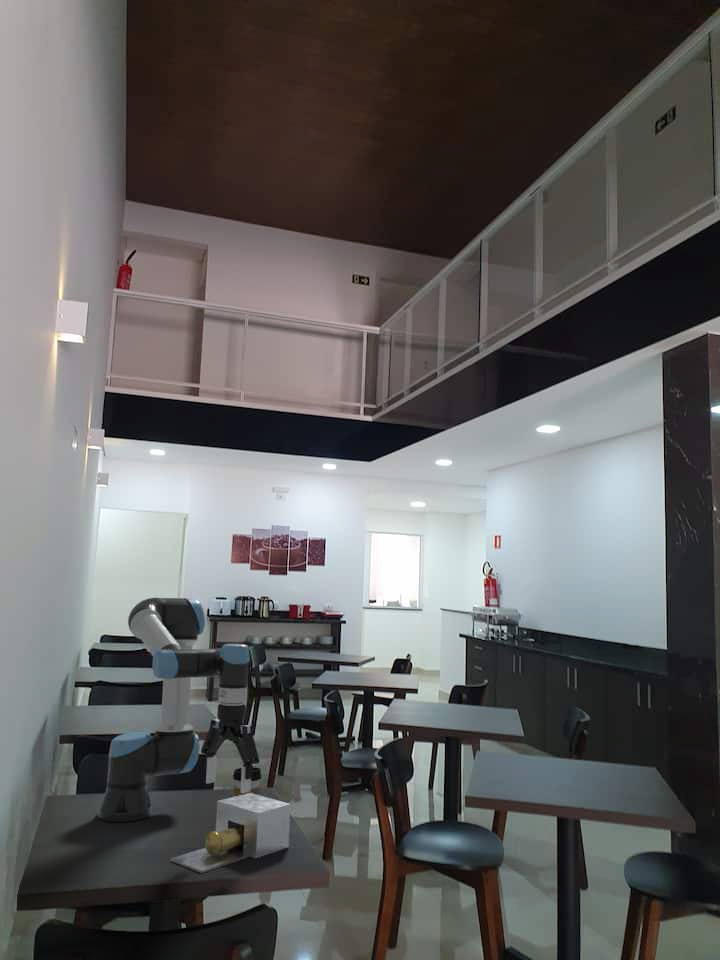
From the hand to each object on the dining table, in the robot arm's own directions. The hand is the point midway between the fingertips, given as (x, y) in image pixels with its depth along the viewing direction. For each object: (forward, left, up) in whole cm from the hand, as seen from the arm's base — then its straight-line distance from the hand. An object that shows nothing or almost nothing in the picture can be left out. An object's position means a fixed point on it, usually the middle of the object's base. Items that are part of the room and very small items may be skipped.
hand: (227, 787), depth 193 cm
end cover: (0, +3, -16) cm, 16 cm away
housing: (0, +2, -17) cm, 17 cm away
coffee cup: (-17, +23, -17) cm, 33 cm away
